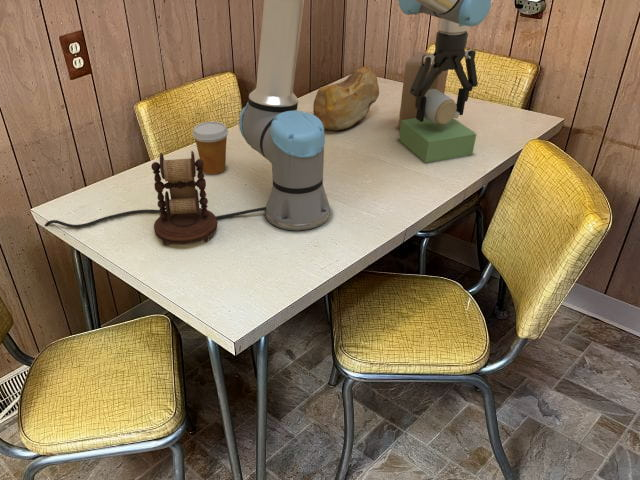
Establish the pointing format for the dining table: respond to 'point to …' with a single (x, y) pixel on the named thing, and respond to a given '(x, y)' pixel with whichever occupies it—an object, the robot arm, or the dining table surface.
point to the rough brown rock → (346, 100)
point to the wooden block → (409, 76)
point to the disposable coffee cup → (211, 145)
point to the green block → (437, 139)
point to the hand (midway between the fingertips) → (439, 116)
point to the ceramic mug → (439, 107)
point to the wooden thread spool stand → (182, 202)
